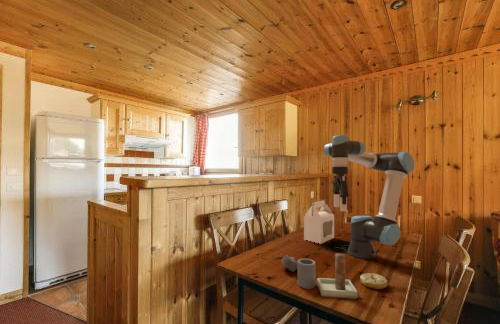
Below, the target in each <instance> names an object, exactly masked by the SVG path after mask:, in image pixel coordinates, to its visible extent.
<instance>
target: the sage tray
mask: <svg viewBox="0 0 500 324" xmlns="http://www.w3.org/2000/svg"><path fill="white" fill-rule="evenodd" d="M316 284H317V286H318V289H319V292H320V295H321V297H327V298H328V297H329V298H344V299H345V298H346V299H358V297H359V294H358V293H359V292H358V291H357V289H356V287H355V286H354V284H353V283H352V282H351V279H345V290H337V289H336V288H335V278H326V277H317V279H316Z"/></svg>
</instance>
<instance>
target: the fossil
mask: <svg viewBox="0 0 500 324" xmlns="http://www.w3.org/2000/svg"><path fill="white" fill-rule="evenodd" d="M297 262H298V261H297V258H296V257H294V256H290V255H288V254H285V255H284V256H282V258H281V263H282V265H283V267H284V268H285V269H287V270H288V271H289V272H295V271H296V270H297Z"/></svg>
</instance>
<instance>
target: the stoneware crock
mask: <svg viewBox="0 0 500 324" xmlns="http://www.w3.org/2000/svg"><path fill="white" fill-rule="evenodd" d="M296 262H297V269H296V270H297V271H296V272H297V276H296V277H297V280H296V282H297V285H298V286H299V287H300V288H302V289H314V288H315V287H316V261H315V260H313V259H310V258H299V259H298V260H297V261H296Z"/></svg>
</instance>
